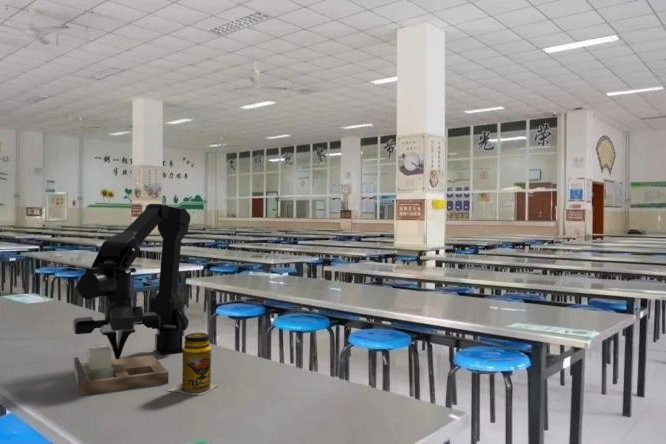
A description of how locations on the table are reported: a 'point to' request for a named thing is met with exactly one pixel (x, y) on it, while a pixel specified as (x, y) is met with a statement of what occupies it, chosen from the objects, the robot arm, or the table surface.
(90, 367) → the block
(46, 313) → the table surface
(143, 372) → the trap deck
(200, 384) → the condiment
